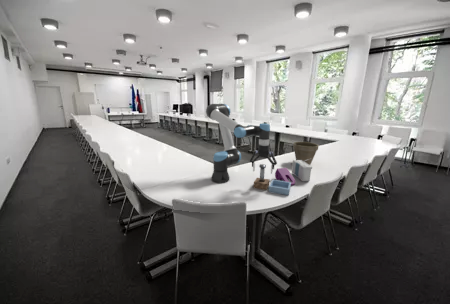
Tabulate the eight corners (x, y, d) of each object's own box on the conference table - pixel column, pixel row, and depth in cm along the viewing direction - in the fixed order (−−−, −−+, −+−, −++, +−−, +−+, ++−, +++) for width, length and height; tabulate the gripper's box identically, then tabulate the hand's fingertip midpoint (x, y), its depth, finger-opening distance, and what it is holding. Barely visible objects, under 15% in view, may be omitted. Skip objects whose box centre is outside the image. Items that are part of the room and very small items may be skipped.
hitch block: (253, 188, 151) (253, 181, 150) (256, 183, 160) (257, 177, 159) (266, 190, 147) (266, 184, 146) (269, 185, 156) (269, 179, 155)
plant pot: (321, 166, 206) (324, 145, 200) (300, 167, 200) (302, 146, 195) (306, 159, 229) (308, 141, 224) (287, 160, 224) (289, 142, 219)
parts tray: (268, 191, 145) (269, 186, 144) (272, 184, 157) (272, 179, 156) (288, 195, 140) (289, 189, 139) (290, 187, 152) (291, 182, 151)
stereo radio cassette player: (291, 173, 184) (293, 152, 179) (299, 173, 184) (301, 152, 180) (301, 182, 164) (304, 158, 159) (311, 181, 164) (314, 158, 159)
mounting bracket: (293, 190, 162) (283, 174, 175) (297, 183, 157) (286, 167, 170) (283, 191, 160) (274, 175, 173) (287, 184, 154) (277, 168, 167)
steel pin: (257, 187, 153) (258, 165, 148) (259, 185, 157) (260, 163, 153) (263, 188, 151) (265, 166, 147) (265, 186, 155) (266, 164, 151)
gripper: (246, 144, 147) (245, 171, 152) (280, 147, 138) (278, 175, 143) (249, 142, 154) (248, 168, 159) (282, 145, 144) (280, 172, 149)
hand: (262, 172), depth 151 cm, fingers open, 13 cm apart
